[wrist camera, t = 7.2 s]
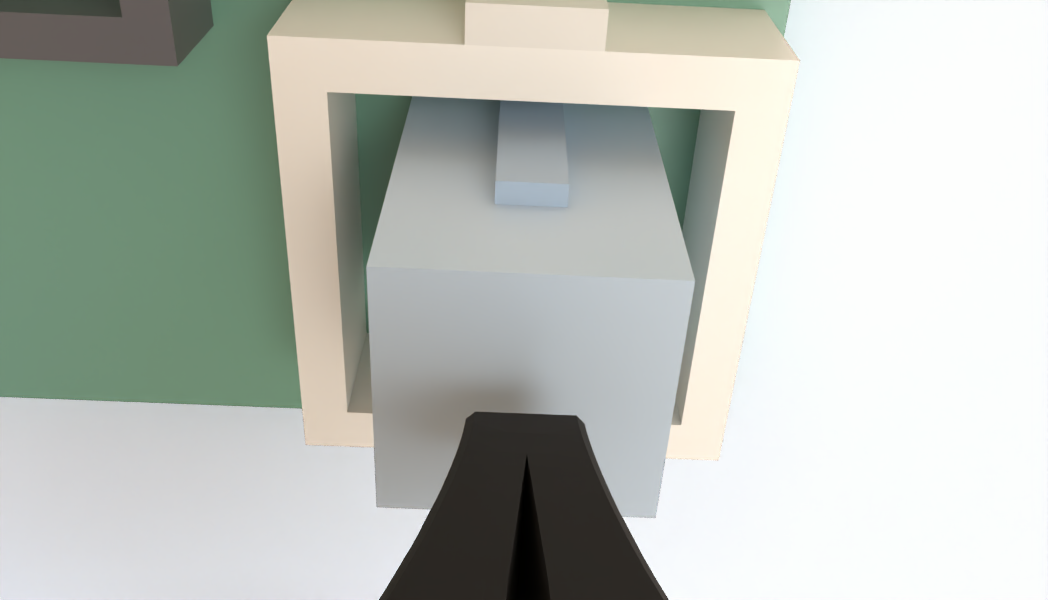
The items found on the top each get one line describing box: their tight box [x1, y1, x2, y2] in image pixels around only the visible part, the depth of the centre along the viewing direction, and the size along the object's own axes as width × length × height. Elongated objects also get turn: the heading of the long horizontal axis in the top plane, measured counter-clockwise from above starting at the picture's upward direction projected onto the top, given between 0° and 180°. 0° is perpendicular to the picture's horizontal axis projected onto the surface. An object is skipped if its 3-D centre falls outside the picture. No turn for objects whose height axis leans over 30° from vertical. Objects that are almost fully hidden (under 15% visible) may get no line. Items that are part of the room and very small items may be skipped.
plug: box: [366, 96, 695, 518], centre depth 15 cm, size 4×4×6 cm
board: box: [0, 0, 791, 408], centre depth 18 cm, size 12×17×1 cm
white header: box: [267, 0, 800, 460], centre depth 17 cm, size 8×8×2 cm
